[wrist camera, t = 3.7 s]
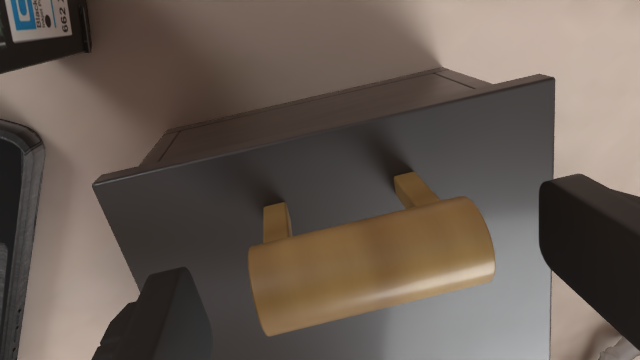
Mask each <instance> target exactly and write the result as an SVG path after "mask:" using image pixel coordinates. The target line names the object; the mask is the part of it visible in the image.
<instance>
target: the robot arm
mask: <svg viewBox="0 0 640 360" xmlns="http://www.w3.org/2000/svg"><path fill="white" fill-rule="evenodd" d="M539 247H540V251H541V254H542V256H543V259H544V260H545V262H546V264H547V265H548V266H549V268H550V269H551V270H552V271H553V272H554V273H556V274H557V275H558V276H559V277H560V278H561V279H562V280H563V281H564V282H565V283H566V284H567V285H569V286H570V287H571V288H572V289H573V290H574V291H575V292H576V293H577V294H578V295H579V296H580V297H581V298H583V299H584V300H585V301H586V302H587V303H588V304H589V305H590V306H591V307H592V308H593V309H594V310H596V311H597V312H598V313H599V314H600V315H601V316H602V317H603V318H604V319H605V320H606V321H607V322H609V323H610V324H611V325H612V326H613V327H614V328H615V329H616V330H617V331H618V332H619V333H620V334H621V335H623V336H624V337H625V338H626V339H627V340H628V341H629V342H630V343H631V344H632V345H633V346H634V347H636V348H637V349H638V350H639V351H640V197H638V196H634V195H631V194H627V193H623V192H619V191H616V190H612V189H609V188H607V187H606V186H604V185H602V184H600V183H598V182H596V181H594V180H592V179H591V178H589V177H587V176H585V175H582V174H574V175H570V176H566V177H561V178H557V179H553V180H549V181H545V182H543V183H542V184H541V186H540V189H539ZM100 344H101V346H99V347H98V348H97V350H96V352H95V354H94V356H93V358H92V360H211V358H212V352H213V335H212V329H211V324H210V321H209V318H208V316H207V313H206V311H205V308H204V306H203V303H202V301H201V298H200V296H199V293H198V290H197V288H196V285H195V283H194V280H193V278H192V275H191V273H190V271H189V270H188V269H187V268H186V267H179V268H175V269H171V270H167V271H163V272H158V273H154V274H151V275H149V276H148V278H147V280H146V282H145V284H144V286H143V288H142V291H141V293H140V295H139V297H138V300H137V301H136V302H132V303H128V304H127V305H126V306H125V307H124V309H123V310H122V311H121V312H120V313H119V314H118V315H117V316H116V317H115V318H114V319H113V320H112V321H111V322H110V324H109V326H108V328H107V330H106V332H105V334H104V336H103V338H102V340H101V342H100Z"/></svg>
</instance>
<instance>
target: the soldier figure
mask: <svg viewBox="0 0 640 360" xmlns="http://www.w3.org/2000/svg"><path fill="white" fill-rule="evenodd" d="M639 355H640V351H639V350H638V349H637V348H636V347H634V346H633V345H632V344H631V343H630V342H629V341H628V340H627V339H626V338H625V337H623V338H621V339H620V341H619V342H618V343H617V344H616V345H615V346H613V347H608V348H607V349H606V350H605V352H604V351H602V352H600V357H599V359H598V360H632V359H634V358H635V357H636V356H639Z"/></svg>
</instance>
